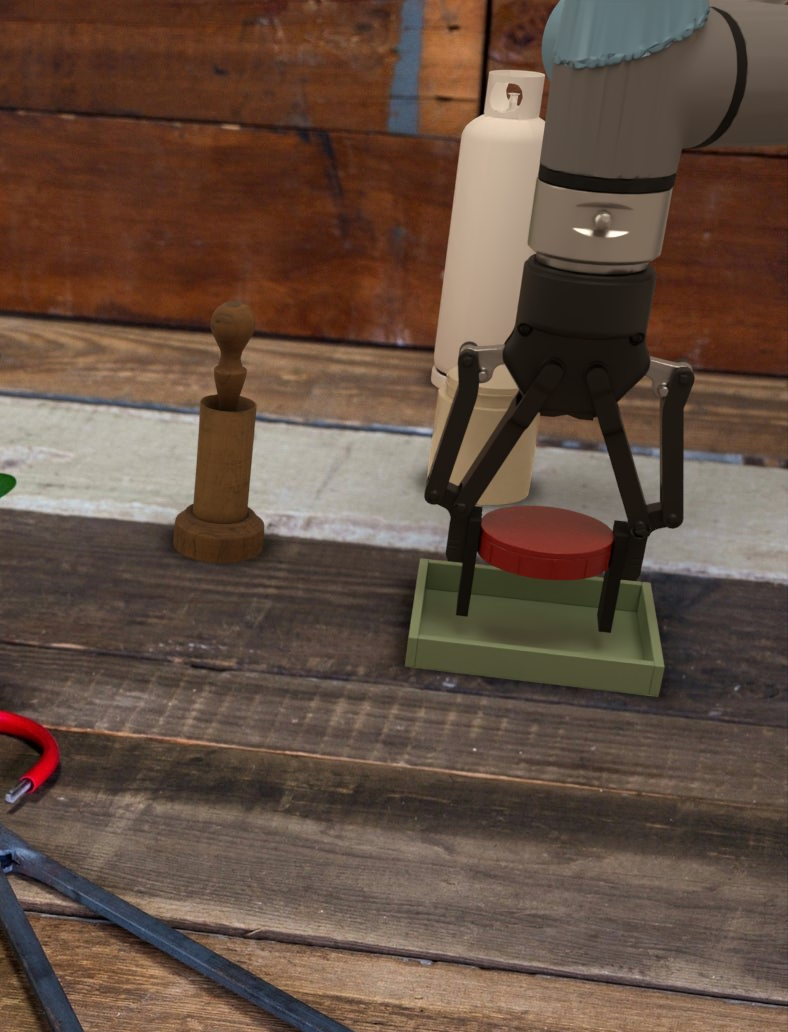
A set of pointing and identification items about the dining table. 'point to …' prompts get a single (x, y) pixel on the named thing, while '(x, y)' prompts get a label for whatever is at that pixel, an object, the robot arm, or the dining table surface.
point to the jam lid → (545, 543)
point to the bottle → (490, 219)
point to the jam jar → (484, 419)
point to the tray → (535, 630)
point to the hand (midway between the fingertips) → (532, 615)
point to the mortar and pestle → (224, 455)
